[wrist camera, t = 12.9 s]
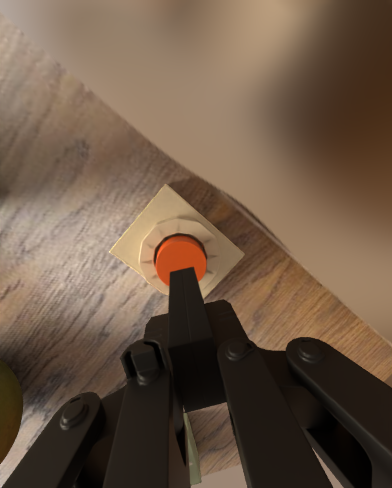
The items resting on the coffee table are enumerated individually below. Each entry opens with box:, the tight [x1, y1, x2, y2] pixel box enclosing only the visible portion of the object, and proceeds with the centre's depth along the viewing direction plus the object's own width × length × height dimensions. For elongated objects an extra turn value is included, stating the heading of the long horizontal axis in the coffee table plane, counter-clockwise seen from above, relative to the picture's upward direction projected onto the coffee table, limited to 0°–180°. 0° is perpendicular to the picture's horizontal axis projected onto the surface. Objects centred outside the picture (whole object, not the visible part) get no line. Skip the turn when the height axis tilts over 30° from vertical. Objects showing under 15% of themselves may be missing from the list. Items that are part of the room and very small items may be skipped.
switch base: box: [109, 184, 245, 299], centre depth 20 cm, size 10×8×4 cm
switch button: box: [156, 236, 207, 286], centre depth 18 cm, size 4×4×2 cm
